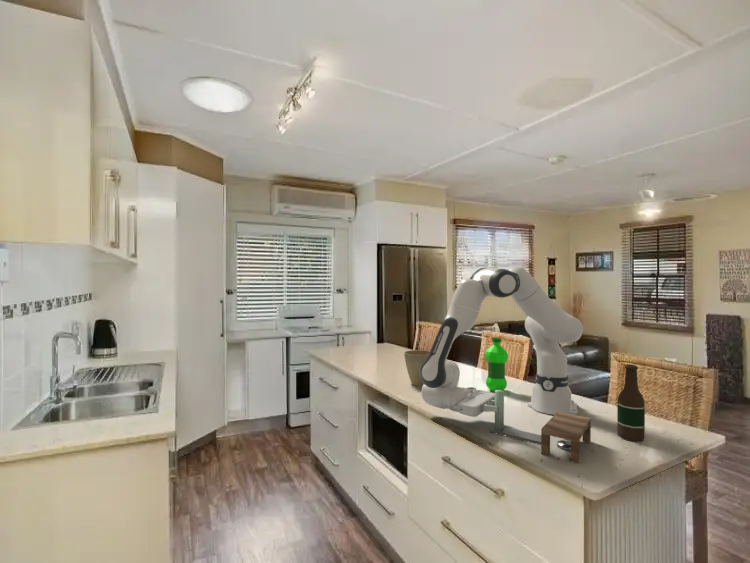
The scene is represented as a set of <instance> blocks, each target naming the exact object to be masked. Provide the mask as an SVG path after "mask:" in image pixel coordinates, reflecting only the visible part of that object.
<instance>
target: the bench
mask: <svg viewBox="0 0 750 563" xmlns="http://www.w3.org/2000/svg"><path fill="white" fill-rule="evenodd" d="M591 421H592V420H591V417H588V416H582V415H578V414H577V415H572V414H567V413H562V412H557V413H556V414H555V415H553V416H552V417H550V419H549V420H548V421H547V422H546V423H545V425H543V426H542V427H541V429H540V430H541V432H540V433H541V434H540V435H541V445H540V450H541V451H540V452H541V453H540V454H541V455H544V456H549V455H550V454H551V437H555V438H559V439H563V440H566V441H570V442H571V451H570V462H572V463H575V464H579V463H580V462H581V460H580V456H581V452H580V451H581V450H580V448H581V440H582V442H583V443H587V444H590V443H591V441H592V440H591V438H592V437H591V434H592V433H591V431H592V430H591V428H592V424H591V423H592V422H591Z"/></svg>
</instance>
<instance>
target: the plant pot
mask: <svg viewBox="0 0 750 563" xmlns="http://www.w3.org/2000/svg"><path fill="white" fill-rule="evenodd" d="M430 351H431V350H427V349H426V350H425V349H424V350H423V349H412V350H411V349H410V350H405V351H404V352H403V355H404V360H405V362H404V363H405V365H406V370H407V374H408V378H409V380H410V382H411V383H410V384H411V385H412V386H418V387H421V386H423V385H424V383H423V382H422V380H421V378H420V367H421V365H422V363H423V362H424V361H425V359H426V358H427V357H428V355H429V353H430Z"/></svg>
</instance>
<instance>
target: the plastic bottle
mask: <svg viewBox="0 0 750 563" xmlns="http://www.w3.org/2000/svg"><path fill="white" fill-rule="evenodd" d="M491 342H492V345H491V346H490V347H488V348H487V349H486V351H485V360H486V361H487V377H486V379H485V384H486V387H487V389H489V390H490V391H491V392H492V393H495V390H503V391H504V390H505V389H506V388H507V386H508V383H507V379H506V362H508V359H509V355H508V352H507V350H506V349H505V348H504V347H503V346H501V343H502V337H497V336H495V337H491Z"/></svg>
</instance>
